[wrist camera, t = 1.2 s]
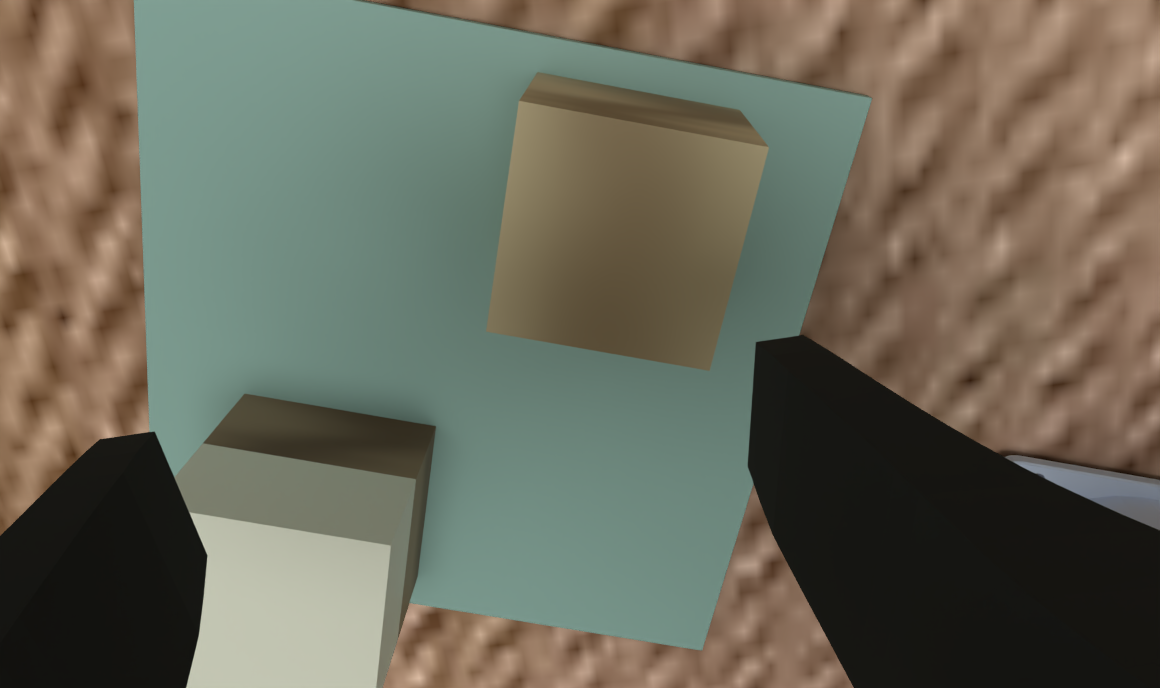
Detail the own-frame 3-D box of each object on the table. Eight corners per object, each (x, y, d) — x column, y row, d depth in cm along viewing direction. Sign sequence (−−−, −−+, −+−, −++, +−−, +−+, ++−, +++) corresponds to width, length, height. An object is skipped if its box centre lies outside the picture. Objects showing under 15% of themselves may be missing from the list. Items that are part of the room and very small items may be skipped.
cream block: (416, 479, 20) (391, 545, 18) (397, 639, 22) (373, 717, 20) (202, 443, 20) (150, 505, 18) (204, 608, 22) (156, 684, 20)
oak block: (739, 109, 19) (768, 147, 15) (693, 297, 21) (709, 370, 17) (537, 72, 19) (519, 100, 15) (508, 264, 21) (486, 331, 17)
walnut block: (436, 426, 23) (416, 479, 20) (417, 576, 25) (397, 639, 22) (244, 393, 22) (202, 443, 20) (242, 547, 25) (204, 609, 22)
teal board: (867, 96, 19) (872, 98, 19) (700, 640, 26) (702, 650, 25) (141, -42, 19) (132, -42, 18) (161, 552, 25) (154, 561, 25)
